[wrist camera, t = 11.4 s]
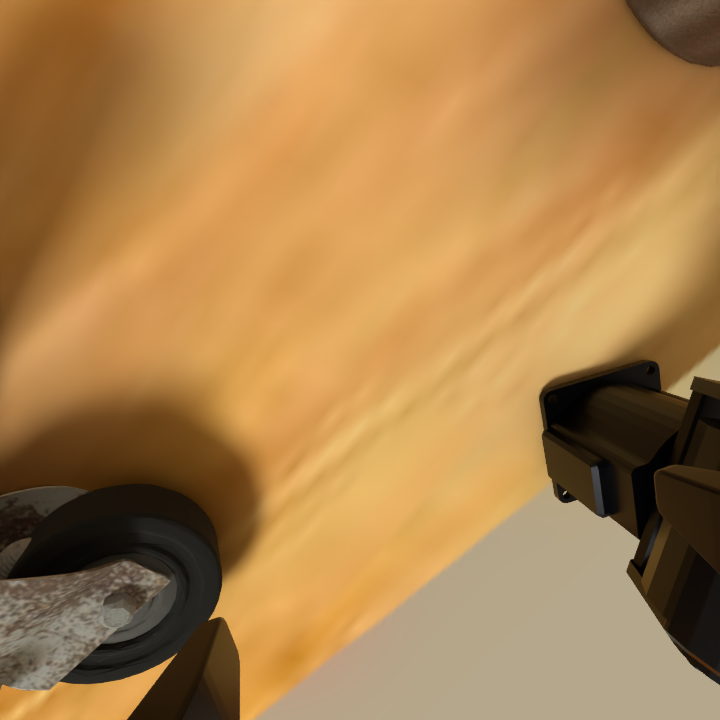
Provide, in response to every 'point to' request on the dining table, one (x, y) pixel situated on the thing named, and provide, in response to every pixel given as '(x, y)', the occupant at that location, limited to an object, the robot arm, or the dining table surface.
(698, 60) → the plant pot
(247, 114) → the dining table surface
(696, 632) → the robot arm
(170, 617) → the caster wheel
